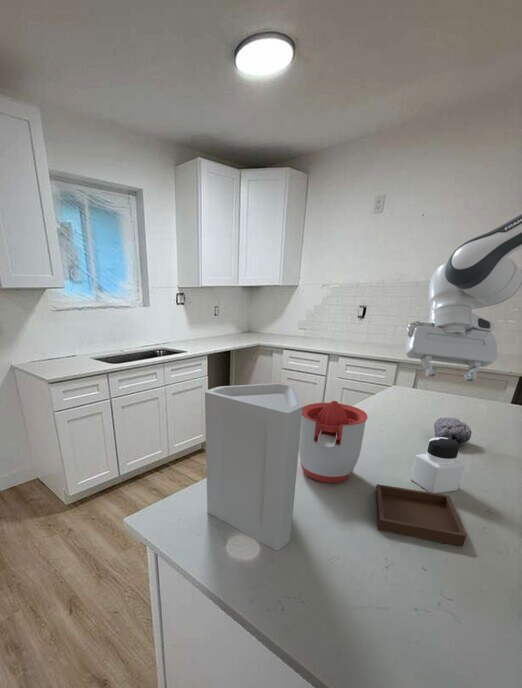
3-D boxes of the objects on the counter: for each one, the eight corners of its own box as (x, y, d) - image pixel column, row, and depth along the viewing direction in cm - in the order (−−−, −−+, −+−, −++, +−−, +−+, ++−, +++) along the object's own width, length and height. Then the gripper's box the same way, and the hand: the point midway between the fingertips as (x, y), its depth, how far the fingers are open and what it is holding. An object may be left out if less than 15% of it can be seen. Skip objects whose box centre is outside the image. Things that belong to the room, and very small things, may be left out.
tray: (446, 505, 81) (449, 495, 80) (463, 547, 68) (466, 536, 67) (374, 493, 86) (376, 484, 85) (377, 530, 73) (380, 519, 72)
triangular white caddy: (316, 517, 78) (331, 392, 67) (278, 551, 69) (288, 413, 58) (246, 485, 91) (249, 376, 80) (205, 511, 81) (202, 391, 70)
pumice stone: (458, 458, 105) (474, 441, 109) (462, 437, 101) (479, 420, 105) (421, 445, 113) (438, 430, 117) (423, 425, 109) (440, 410, 113)
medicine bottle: (458, 491, 86) (471, 445, 81) (431, 494, 85) (443, 448, 80) (435, 476, 92) (446, 433, 87) (409, 479, 91) (420, 435, 86)
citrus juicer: (287, 484, 91) (293, 409, 83) (301, 455, 105) (307, 389, 97) (354, 497, 84) (368, 417, 77) (359, 464, 99) (370, 394, 91)
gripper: (415, 313, 86) (415, 367, 84) (501, 324, 86) (503, 378, 83) (400, 326, 93) (399, 377, 90) (480, 336, 92) (482, 387, 90)
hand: (450, 378), depth 87 cm, fingers open, 8 cm apart
